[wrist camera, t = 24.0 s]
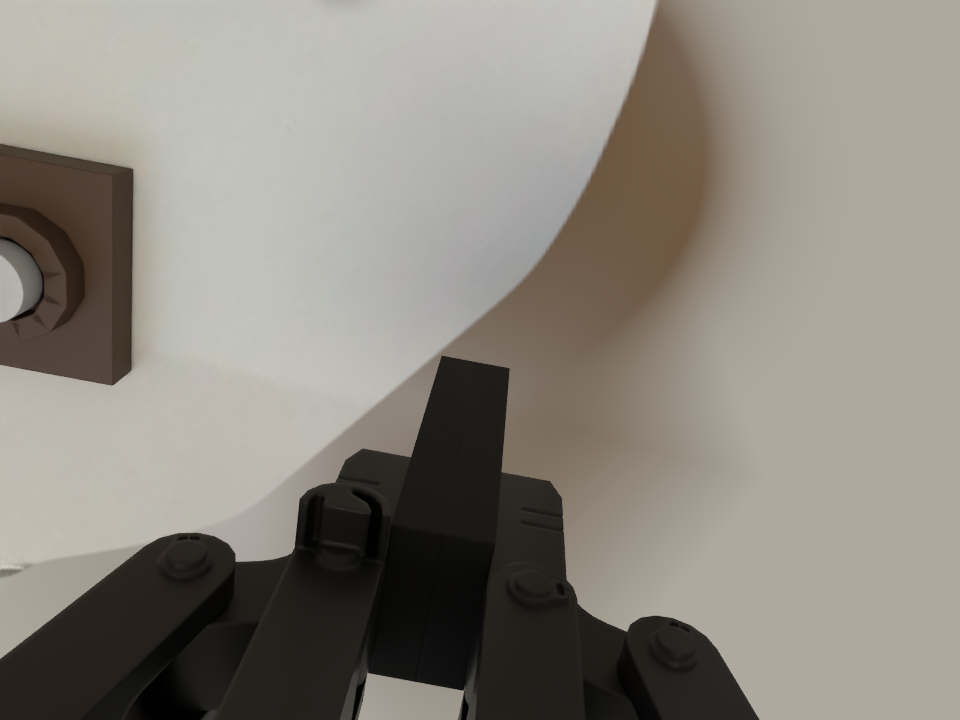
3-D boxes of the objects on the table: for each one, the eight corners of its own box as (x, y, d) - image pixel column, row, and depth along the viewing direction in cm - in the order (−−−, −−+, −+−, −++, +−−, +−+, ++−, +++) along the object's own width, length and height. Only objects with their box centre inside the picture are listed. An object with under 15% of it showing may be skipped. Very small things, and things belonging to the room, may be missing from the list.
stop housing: (131, 371, 47) (96, 399, 44) (-36, 340, 47) (-84, 365, 44) (133, 169, 43) (94, 180, 39) (-51, 134, 43) (-107, 143, 39)
